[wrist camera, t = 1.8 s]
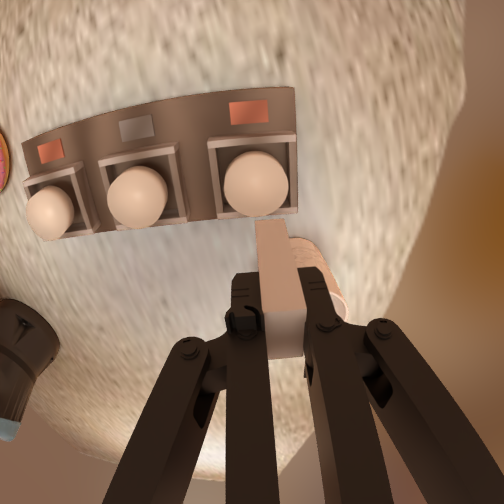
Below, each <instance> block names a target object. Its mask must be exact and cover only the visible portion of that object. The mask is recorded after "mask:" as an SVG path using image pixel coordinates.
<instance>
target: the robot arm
mask: <svg viewBox="0 0 504 504" xmlns="http://www.w3.org/2000/svg"><path fill="white" fill-rule="evenodd" d="M255 230H256V242H257V255H258V268H259V272H249V273H237V274H236V275H235V277H234V278H233V280H232V286H231V308H230V309H229V310H228V311H227V312H226V315H225V322H226V327H227V331H226V332H225V333H224V334H223V335H222V336H220V337H218V338H216V339H213V340H210V341H207V342H205V341H204V340H202V339H200V338H198V337H187V338H183V339H181V340H180V341H178V342H177V343H176V344H175V345H174V346H173V348H172V350H171V352H170V354H169V356H168V358H167V360H166V362H165V364H164V366H163V368H162V371H161V373H160V375H159V377H158V379H157V381H156V383H155V385H154V388H153V390H152V392H151V394H150V396H149V398H148V400H147V403H146V405H145V407H144V409H143V411H142V413H141V416H140V418H139V420H138V422H137V424H136V427H135V429H134V431H133V433H132V435H131V438H130V440H129V442H128V444H127V447H126V449H125V451H124V453H123V456H122V458H121V460H120V463H119V465H118V467H117V470H116V472H115V474H114V476H113V479H112V481H111V483H110V486H109V488H108V491H107V493H106V495H105V498H104V500H103V503H102V504H183V501H184V498H185V495H186V492H187V489H188V487H189V484H190V481H191V478H192V475H193V472H194V469H195V466H196V463H197V460H198V457H199V454H200V451H201V448H202V445H203V442H204V439H205V436H206V433H207V430H208V426H209V423H210V420H211V417H212V414H213V411H214V408H215V405H216V402H217V399H218V396H219V393H220V391H222V390H225V389H226V504H280V501H279V488H278V474H277V462H276V450H275V438H274V426H273V414H272V402H271V390H270V379H269V367H268V360H270V359H282V358H292V357H301V356H303V352H304V355H305V368H304V378H307V384H308V390H309V396H310V402H311V408H312V414H313V421H314V427H315V434H316V440H317V447H318V453H319V460H320V467H321V474H322V482H323V489H324V497H325V504H394V502H393V498H392V493H391V488H390V484H389V479H388V475H387V470H386V466H385V462H384V457H383V453H382V449H381V446H380V441H379V438H378V433H377V429H376V426H375V422H374V418H373V415H372V411H371V407H370V404H371V405H372V407H373V409H374V410H375V412H376V414H377V416H378V417H379V419H380V421H381V422H382V424H383V426H384V427H385V429H386V431H387V433H388V434H389V436H390V438H391V439H392V441H393V443H394V445H395V447H396V448H397V450H398V452H399V453H400V455H401V457H402V459H403V461H404V462H405V464H406V466H407V467H408V469H409V471H410V473H411V474H412V476H413V478H414V480H415V482H416V484H417V485H418V487H419V489H420V491H421V493H422V494H423V496H424V498H425V500H426V502H427V503H428V504H504V475H503V474H502V472H501V470H500V469H499V467H498V465H497V463H496V462H495V460H494V459H493V457H492V455H491V454H490V452H489V451H488V449H487V447H486V446H485V444H484V443H483V441H482V440H481V438H480V437H479V435H478V434H477V432H476V431H475V429H474V428H473V426H472V425H471V423H470V422H469V420H468V419H467V417H466V416H465V414H464V413H463V412H462V410H461V409H460V407H459V406H458V404H457V403H456V402H455V401H454V399H453V397H452V396H451V395H450V393H449V392H448V390H447V389H446V388H445V386H444V385H443V384H442V382H441V381H440V380H439V378H438V377H437V376H436V374H435V373H434V371H433V370H432V369H431V368H430V366H429V365H428V364H427V362H426V361H425V360H424V358H423V357H422V356H421V354H420V353H419V352H418V351H417V349H416V348H415V347H414V345H413V344H412V343H411V342H410V340H409V339H408V338H407V337H406V335H405V334H404V333H403V332H402V330H401V329H400V328H399V327H398V325H396V324H395V323H394V322H393V321H391V320H388V319H384V318H378V319H374V320H372V321H371V322H369V324H368V325H367V326H359V325H353V324H349V323H347V322H345V321H343V319H342V318H341V317H340V316H339V315H337V313H336V311H335V308H334V305H333V302H332V299H331V296H330V293H329V290H328V287H327V284H326V282H325V278H324V276H323V273H322V272H321V271H320V270H319V269H318V268H317V267H316V266H312V267H301V268H297V267H296V263H295V259H294V255H293V251H292V247H291V244H290V240H289V236H288V232H287V228H286V225H285V221H284V219H272V220H259V221H255ZM59 348H60V344H59V340H58V338H57V336H56V334H55V332H54V331H53V329H52V328H51V327H50V325H49V324H48V323H47V322H46V321H45V320H44V319H43V318H42V317H41V316H40V315H39V314H38V313H36V312H35V311H34V310H32V309H31V308H29V307H28V306H26V305H24V304H23V303H20V302H18V301H15V300H12V299H4V300H2V301H0V439H1V440H4V441H12V440H13V439H14V438H15V436H16V434H17V431H18V429H19V427H20V425H21V420H22V417H23V414H24V411H25V409H26V405H27V403H28V400H29V397H30V395H31V392H32V389H33V387H34V384H35V382H36V379H37V377H38V376H39V375H40V374H41V373H42V372H43V371H44V370H45V369H46V368H47V367H48V366H49V364H50V363H52V362H53V361H54V359H55V358H56V356H57V353H58V351H59ZM369 402H370V404H369Z"/></svg>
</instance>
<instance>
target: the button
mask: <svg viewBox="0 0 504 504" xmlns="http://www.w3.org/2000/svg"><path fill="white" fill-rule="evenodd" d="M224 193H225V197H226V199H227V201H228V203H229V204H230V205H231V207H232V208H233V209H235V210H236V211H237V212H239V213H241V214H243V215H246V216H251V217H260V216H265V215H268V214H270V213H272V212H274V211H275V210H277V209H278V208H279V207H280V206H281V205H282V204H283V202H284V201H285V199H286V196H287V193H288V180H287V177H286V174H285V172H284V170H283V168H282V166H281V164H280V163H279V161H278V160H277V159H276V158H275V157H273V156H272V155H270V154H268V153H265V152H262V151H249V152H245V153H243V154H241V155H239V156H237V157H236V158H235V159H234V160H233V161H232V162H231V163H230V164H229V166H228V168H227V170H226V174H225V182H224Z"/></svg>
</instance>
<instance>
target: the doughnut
mask: <svg viewBox="0 0 504 504" xmlns="http://www.w3.org/2000/svg"><path fill="white" fill-rule="evenodd" d="M8 174H9V154H8V149H7V146H6V143H5V140H4V138H3V136H2V135H1V133H0V192H2V190H3V188H4V186H5V184H6V181H7V178H8Z"/></svg>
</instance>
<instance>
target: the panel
mask: <svg viewBox="0 0 504 504" xmlns="http://www.w3.org/2000/svg"><path fill="white" fill-rule="evenodd" d="M21 144H22V148H23V152H24V156H25V160H26V164H27V167H28V171H29V174H30V177H29V178H28V179H26V180H25V181H23V182H22V183H23V186H24V189H25V192H26V195H27V198H28V201H29V199H30V198H31V197H32V196H34V195H35V194H36V193H37V192H39V191H40V190H41V189H42V188H44V187H46V186H56V187H59V188H60V189H62V190H63V191H65V192H66V193H67V195H68V196H69V197H70V199H71V201H72V203H73V207H74V220H73V222H72V224H71V225H70V227H69V228H68V229H67V230H66V231H65V232H64V234H63V235H62V236H61V237H60V238H58V239H62V238H69V237H76V236H83V235H91V234H94V233H99V232H106V231H114V230H117V231H121V230H129V229H134V228H130V227H127V226H125V225H123V224H121V223H120V222H118V221H117V220H116V219H115V218H114V216H113V215H112V214H111V212H110V210H109V207H108V203H107V194H108V190H109V188H110V186H111V184H112V183H113V182H114V180H115V179H116V178H117V177H119V176H120V175H121V174H122V173H123V172H124V171H125V170H127V169H128V168H131V167H134V166H145V167H149V168H151V169H153V170H155V171H156V172H158V173H159V174H160V175H161V176H162V178H163V179H164V181H165V183H166V185H167V189H168V200H167V203H166V205H165V207H164V209H163V211H162V213H161V215H160V217H159V219H158V220H157V221H156V222H155V223H154V224H152V225H151V226H149V227H154V226H163V225H172V224H181V223H188V222H191V221H200V220H210V219H218V220H220V219H231V218H242V217H251V216H246V215H243V214H241V213H239V212H237V211H236V210H235V209H233V208H232V207H231V205H230V204H229V203H228V201H227V199H226V197H225V193H224V182H225V174H226V170H227V168H228V166H229V164H230V163H231V162H232V161H233V160H234V159H235V158H236V157H237V156H239V155H241V154H243V153H245V152H249V151H262V152H265V153H268V154H270V155H272V156H273V157H275V158H276V159H277V160H278V161H279V163H280V164H281V166H282V168H283V170H284V172H285V174H286V177H287V180H288V193H287V196H286V199H285V201H284V202H283V204H282V205H281V206H280V207H279V208H278V209H277V210H275V211H274V212H272V213H270V214H268V215H278V214H291V213H297V212H298V176H297V137H296V111H295V91H294V88H293V87H267V88H251V89H239V90H228V91H219V92H210V93H203V94H196V95H189V96H183V97H177V98H171V99H165V100H160V101H155V102H150V103H145V104H141V105H136V106H132V107H128V108H124V109H120V110H116V111H112V112H108V113H105V114H101V115H98V116H94V117H91V118H87V119H84V120H81V121H78V122H75V123H72V124H69V125H66V126H63V127H60V128H57V129H54V130H51V131H49V132H46V133H43V134H41V135H38V136H36V137H34V138H31V139H29V140H27V141H25V142H23V143H21ZM42 239H43V238H42ZM43 241H49V240H45V239H43Z"/></svg>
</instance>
